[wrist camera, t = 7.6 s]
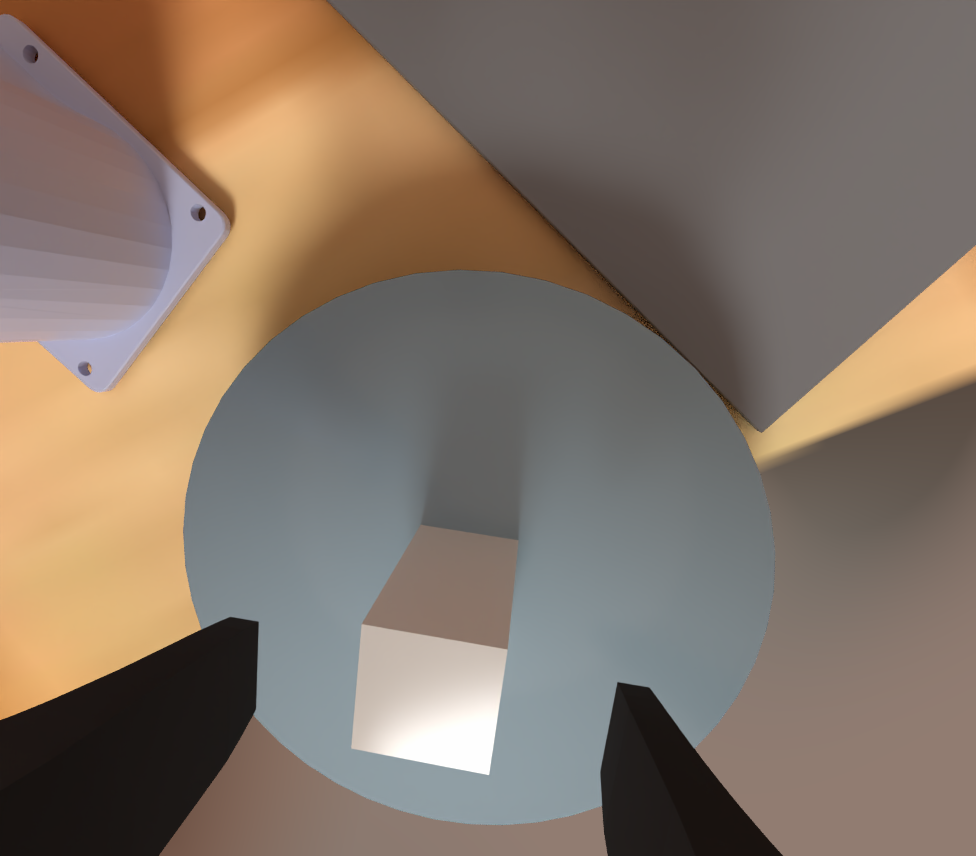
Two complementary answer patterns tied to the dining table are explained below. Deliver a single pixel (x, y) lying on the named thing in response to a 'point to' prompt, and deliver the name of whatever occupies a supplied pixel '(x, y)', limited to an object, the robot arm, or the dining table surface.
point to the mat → (721, 157)
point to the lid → (478, 540)
